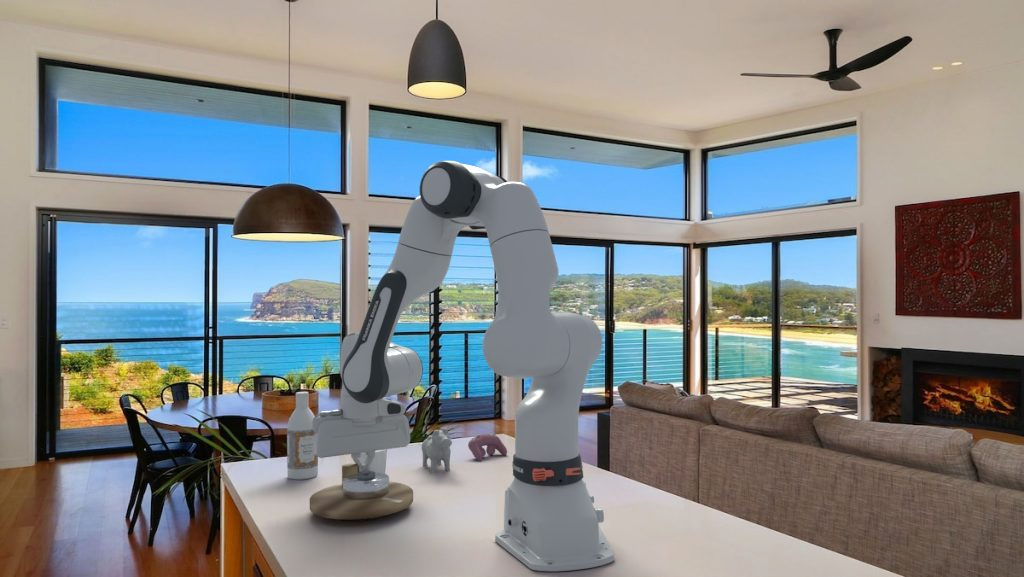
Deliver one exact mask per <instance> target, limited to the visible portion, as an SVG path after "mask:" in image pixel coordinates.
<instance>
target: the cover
mask: <svg viewBox="0 0 1024 577" xmlns="http://www.w3.org/2000/svg"><path fill="white" fill-rule="evenodd" d="M389 482H390V477H389V475H388V474H387V473H385V474H383V473H375V472H374V471H362V472H358V473H357V474H353V475H350V476H347V477H345V478H344V479H343V497H345V498H347V499H351V500H370V499H376V498H380V497H383V496H385V495H387V494H388V493H389Z"/></svg>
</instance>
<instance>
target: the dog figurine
mask: <svg viewBox="0 0 1024 577" xmlns="http://www.w3.org/2000/svg"><path fill="white" fill-rule="evenodd" d="M432 432H433V433H432V435H428V436H427V437H426V439H424V440H423V442H422V443H421V452H422V467H423V468H428V467H429V465H428V459H429V460H430V473H431V474H435V473H436V472H437V466H442V461H443V464H444V467H443V468H444V471H445V472H450V471H451V467H450V462H451V461H450V460H451V452H452V451H451V446H452V443H453V441H452V440H451V438H450V434H449V429H448V427H445V428H444V427H443V428H442V429H435V430H433V431H432Z"/></svg>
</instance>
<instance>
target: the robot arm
mask: <svg viewBox="0 0 1024 577" xmlns="http://www.w3.org/2000/svg"><path fill="white" fill-rule="evenodd" d="M466 227H469V228H470V229H471V230H483V229H485V232H486V233H487V235H486V236H487V239H488V244H489V248H490V253H491V258H492V261H493V266H494V271H495V276H496V281H497V290H498V293H497V295H498V296H497V308H496V312H495V316H494V318H493V320H492V321H491V323H490V324H489V325H488V327H487V329H486V330H485V332H484V335H483V340H482V353H483V357H484V360H485V362H486V364H487V366H488V367H489V369H490V370H491V371H492V372H493V373H494V374H496V375H498V376H501V377H506V378H513V379H520V380H521V379H522V380H523V379H525V380H526V379H531V382H530V385H529V388H528V390H527V393H526V395H525V396H524V398H523V399H522V400H521V401H520V402H519V404H518V405H517V407H516V409H515V412H514V441H515V443H514V446H515V447H514V451H515V452H514V454H513V456H512V463H511V465H512V466H511V467H512V476H513V477H514V478H513V480H512V482H511V483H510V485H509V486H508V487H507V489H505V492H504V509H503V510H504V512H503V530H500V531H498V532H497V533H496V534H495V538H494V541H495V543H497V544H499V545H500V546H501V547H502V548H504V549H505V550H506V551H508V552H509V553H510V554H511V555H513V557H515V558H516V559H517V560H519V561H520V562H521V563H523V565H525V566H526V567H528V569H530V570H533V571H538V572H565V571H567V572H569V571H576V570H584V569H590V568H596V567H601V566H604V565H607V564H610V563H611V562H614V561H615V554H614V551H613V549H612V548H611V546H610V543H609V542H608V540H607V539H606V537H605V535H604V532H603V531H602V529H601V527H600V525H599V524H600V523H601V524H602V523H603V522H604V520H605V517H604V515H605V514H604V510H603V508H601V507H597V508H596V507H595V508H594V503H595V497H594V495H593V494H590V493H589V491H588V488H587V484H586V483H585V481H583V478H584V471H583V470H584V469H583V468H584V467H583V462H582V456H581V454H580V453H579V416H580V415H579V413H580V406H581V405H580V404H581V400H582V395H583V391H584V387H585V384H586V380H587V377H588V375H589V372H590V370H591V368H592V366H593V364H595V362H596V360H598V358H599V356H600V354H601V352H602V347H603V337H602V332H601V330H600V328H599V326H598V325H597V323H596V322H595V321H594V320H593V319H592V318H590V317H588V316H585V315H581V314H578V313H574V312H571V311H558V312H552V311H551V306H550V292H551V288H552V286H553V285H554V284H555V283H556V282H557V280H558V277H559V268H558V263H557V260H556V255H555V253H554V252H555V251H554V247H553V243H552V240H551V236H550V232H549V228H548V225H547V222H546V219H545V216H544V213H543V210H542V208H541V206H540V204H539V201H538V199H537V197H536V195H535V193H534V191H533V190H532V188H531V187H530V186H528V185H527V184H525V183H522V182H520V181H508V180H507V179H505V178H504V177H502V176H500V175H496V174H493V173H492V172H489V171H487V170H484V169H483V168H481V167H477V166H474V165H470V164H465V163H461V162H458V161H455V160H442V161H437V162H434V163H432V164H431V165H430V166H429V167H428V168H427V169H426V170H425V171H424V172H423V175H422V177H421V180H420V183H419V195H418V196H417V197H416V198H414V200H413V201H412V203H411V205H410V207H409V209H408V212H407V213H406V216H405V219H404V222H403V224H402V228H401V231H400V233H399V238H398V242H397V246H396V248H395V252H394V254H393V258H392V259H391V263H390V265H389V266H388V268H387V270H386V271H385V273H384V275H382V277H381V278H380V280H379V281H378V284H377V285H376V288H375V290H374V293H373V294H372V298H371V300H370V303H369V305H368V306H369V307H368V309H367V312H366V315H365V318H364V321H363V322H362V326H361V329H360V331H356V332H353V333H350V334H347V335H346V336H344V338H343V340H342V342H341V343H342V344H341V348H340V357H339V358H340V361H339V363H340V364H339V367H340V368H339V370H340V378H341V381H342V383H341V384H342V385H341V386H342V387H341V391H340V409H335V410H333V409H332V410H329V411H328V410H324V411H323V410H322V411H320V412H319V413H317V414H316V415H314V416H315V417H314V419H313V431H314V432H315V434H314V442H313V452H314V453H315V455H317V456H318V459H319V458H321V459H322V458H323V459H324V458H330V457H331V458H332V457H337V456H338V457H340V456H347V455H350V456H351V459H352V460H353V463H354V464H357V465H358V472H362V471H370V464H371V462H372V461H373V459H374V457H375V451H377V450H385V449H387V450H392V449H398V448H405V447H408V446H409V444H410V442H411V432H410V431H411V429H410V423H409V419H408V417H407V416H406V415H405V412H406V405H405V404H404V403H402V402H400V401H398V400H392V399H390V398H389V397H391V396H395V395H397V396H398V395H399V394H403V393H407V392H410V391H411V390H414V389H415V388H417V386H419V384H420V382H421V381H422V378H423V374H424V373H423V372H424V366H423V362H422V360H421V357H420V356H419V354H418V353H417V352H416V350H414V349H412V348H410V347H405V346H403V345H399V344H397V343H395V342H393V341H392V339H393V337H394V334H395V332H396V328H397V325H398V322H399V319H400V317H401V316H402V314H403V312H404V311H405V310H406V308H408V306H410V305H411V304H413V302H415V301H416V300H417V299H419V298H421V297H423V296H425V295H427V294H430V293H432V292H433V291H435V290H436V289H438V288H439V286H441V285H442V283H443V281H444V280H445V278H446V275H447V273H448V271H449V269H450V268H449V267H450V264H451V260H452V256H453V252H454V248H455V242H456V240H457V237H458V235H459V232H460V231H462V230H463V229H464V228H466ZM387 397H388V398H387ZM362 452H366V455H367V459H366V461H365V463H363V464H361V463H360V461H359V459H358V458H360V457H361V453H362Z"/></svg>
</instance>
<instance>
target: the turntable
mask: <svg viewBox="0 0 1024 577" xmlns="http://www.w3.org/2000/svg"><path fill="white" fill-rule="evenodd" d="M357 473H358V465H357V464H355V463H345V464H343V465H341V483H340V484H336V485H331V486H327V487H326V488H323V489H320V490H318V491H316V492H314V493H313V494H312V495H311V496H310V498H309V510H310V512H311V513H312V514H314V515H315V516H319V517H322V518H326V519H333V520H339V519H366V518H374V517H380V516H383V517H386V516H388V515H391V514H396V513H398V512H401V511H403V510H406V509H407V508H409V507H411V505H412V504H413V502H414V491H413V490H414V489H413V488H412V487H410V486H409V485H407V484H403V483H401V482H395V481H389V493H388V494H387V495H385V496H383V497H380V498H376V499H370V500H351V499H347V498H345V497H343V479H344V478H345V477H347V476H350V475H353V474H357ZM385 515H386V516H385ZM380 518H381V517H380Z"/></svg>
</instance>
